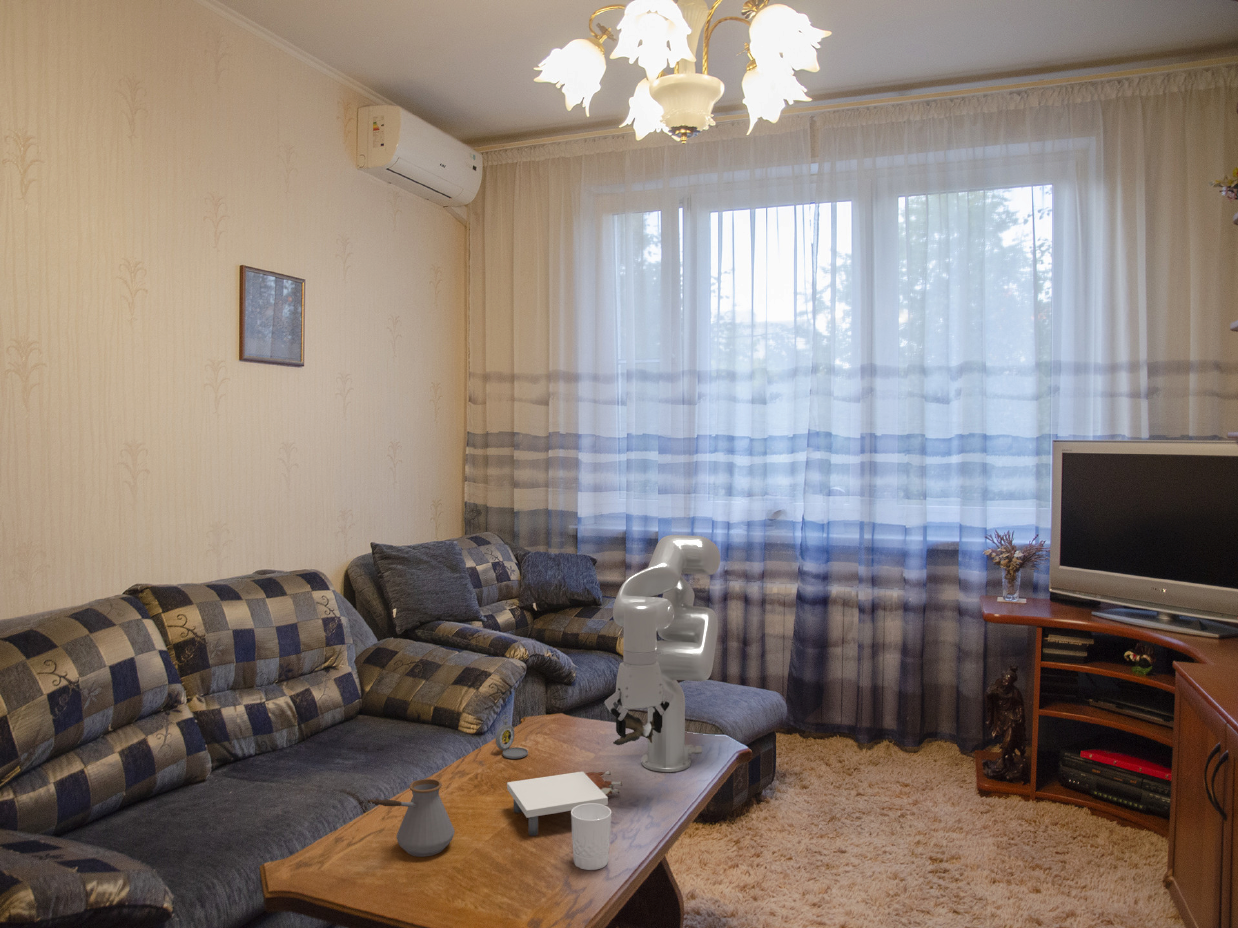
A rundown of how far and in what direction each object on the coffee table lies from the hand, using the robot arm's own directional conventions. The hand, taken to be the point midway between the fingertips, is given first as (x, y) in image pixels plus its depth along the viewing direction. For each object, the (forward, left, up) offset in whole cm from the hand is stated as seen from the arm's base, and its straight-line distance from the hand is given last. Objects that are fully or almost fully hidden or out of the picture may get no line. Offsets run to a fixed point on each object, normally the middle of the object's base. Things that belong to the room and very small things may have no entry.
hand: (639, 733), depth 195 cm
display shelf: (+20, 0, -16) cm, 25 cm away
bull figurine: (+2, -8, -14) cm, 16 cm away
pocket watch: (+19, -41, -16) cm, 48 cm away
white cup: (+20, +22, -16) cm, 34 cm away
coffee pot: (+53, +7, -16) cm, 56 cm away
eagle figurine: (+1, 0, -2) cm, 2 cm away
